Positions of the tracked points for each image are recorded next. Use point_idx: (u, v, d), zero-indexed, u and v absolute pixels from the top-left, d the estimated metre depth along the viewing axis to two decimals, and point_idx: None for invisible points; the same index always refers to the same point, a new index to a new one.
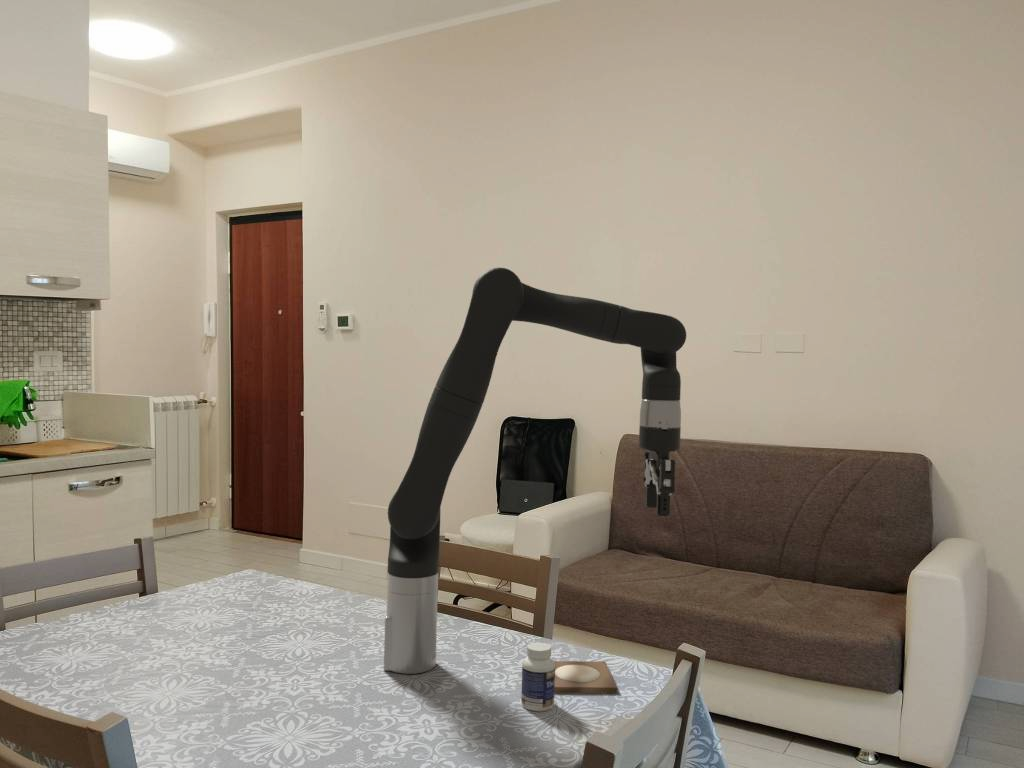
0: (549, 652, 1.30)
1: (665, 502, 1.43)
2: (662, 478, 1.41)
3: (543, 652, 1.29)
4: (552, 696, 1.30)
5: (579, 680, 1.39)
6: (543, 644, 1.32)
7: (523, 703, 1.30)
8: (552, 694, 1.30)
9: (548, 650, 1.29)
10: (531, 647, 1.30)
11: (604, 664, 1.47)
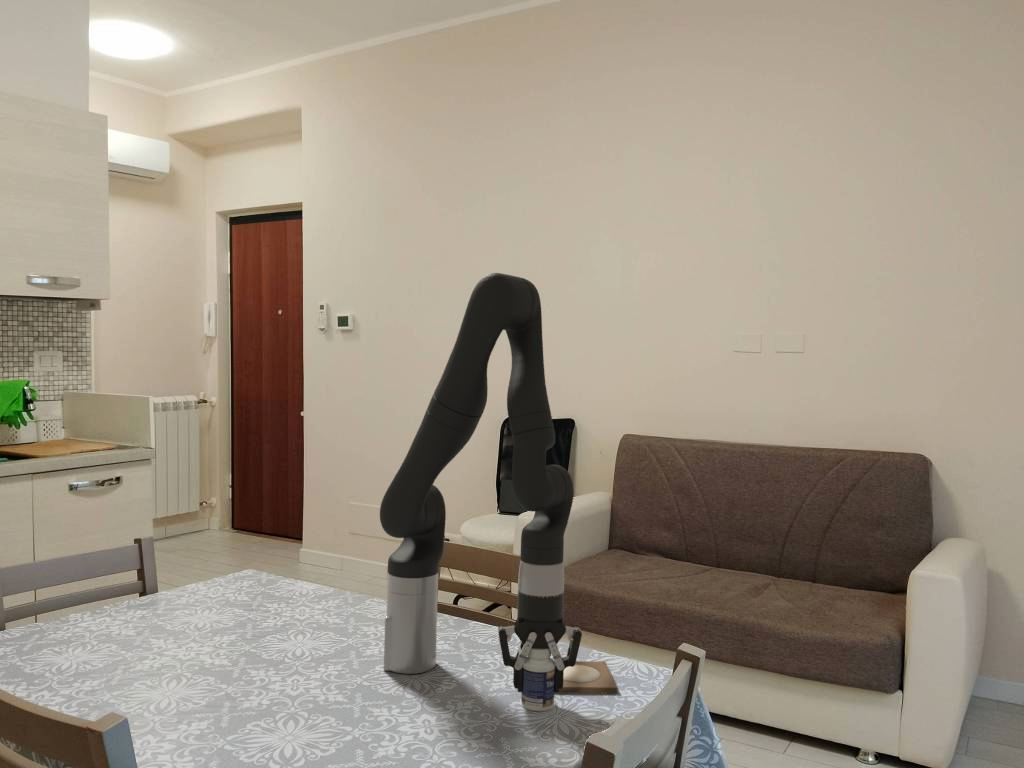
0: (549, 652, 1.30)
1: None
2: None
3: (543, 652, 1.29)
4: (552, 696, 1.30)
5: (579, 680, 1.39)
6: None
7: (523, 703, 1.30)
8: (552, 694, 1.30)
9: (548, 649, 1.29)
10: None
11: (604, 664, 1.47)
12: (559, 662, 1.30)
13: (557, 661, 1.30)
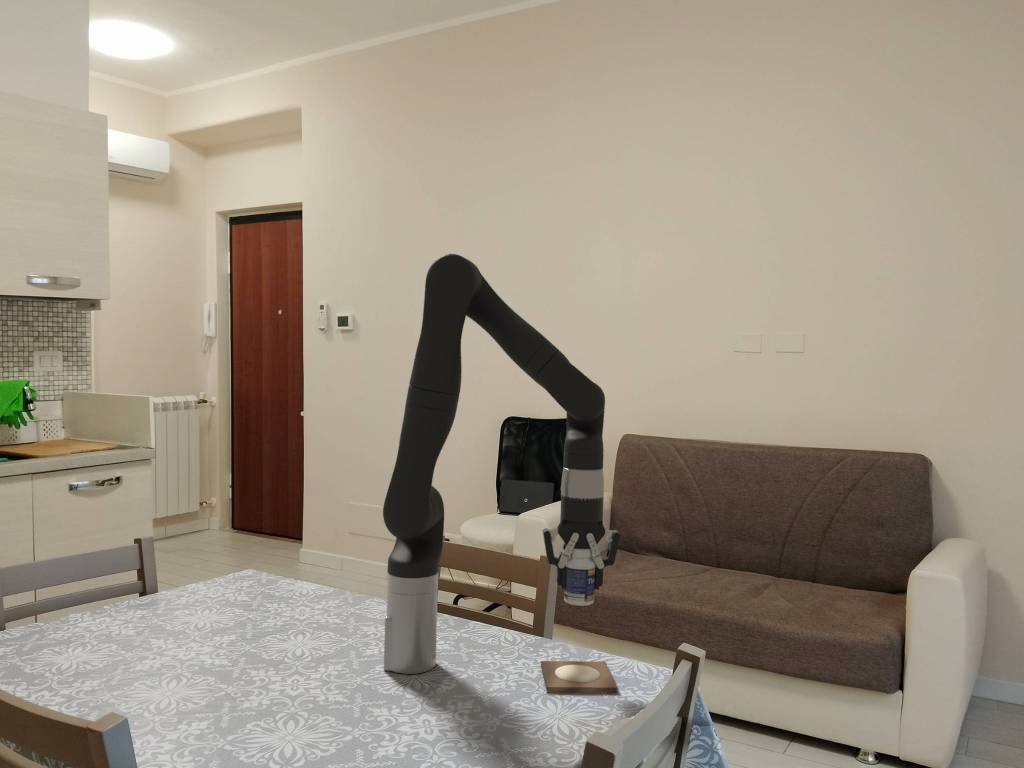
0: (590, 552, 1.41)
1: None
2: (616, 551, 1.41)
3: (584, 551, 1.40)
4: (593, 592, 1.41)
5: (579, 680, 1.39)
6: None
7: (566, 599, 1.41)
8: (593, 590, 1.41)
9: (589, 549, 1.40)
10: None
11: (604, 664, 1.47)
12: (599, 561, 1.41)
13: (597, 560, 1.41)
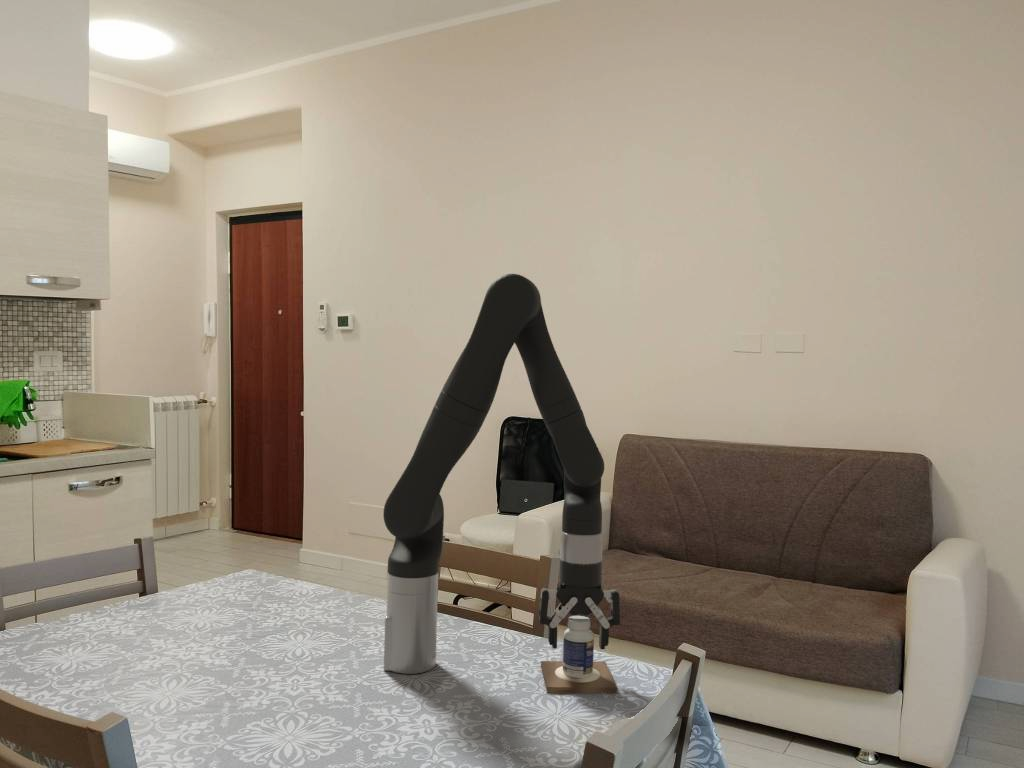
0: (589, 624, 1.41)
1: None
2: (619, 610, 1.41)
3: (583, 624, 1.40)
4: (591, 664, 1.41)
5: (579, 680, 1.39)
6: (582, 617, 1.43)
7: (565, 671, 1.41)
8: (591, 662, 1.41)
9: (587, 621, 1.41)
10: (572, 619, 1.41)
11: (604, 664, 1.47)
12: (605, 621, 1.41)
13: (603, 620, 1.41)
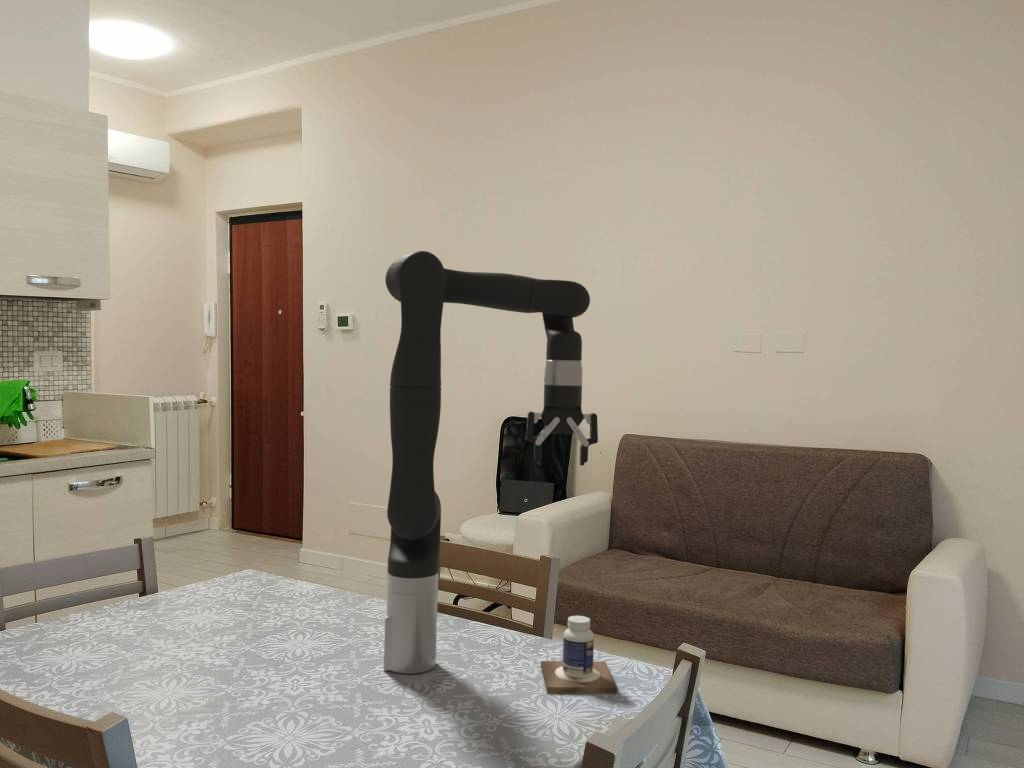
0: (588, 624, 1.41)
1: None
2: (597, 430, 1.59)
3: (583, 624, 1.40)
4: (591, 664, 1.41)
5: (579, 680, 1.39)
6: (582, 617, 1.43)
7: (565, 671, 1.41)
8: (591, 662, 1.41)
9: (587, 621, 1.41)
10: (572, 619, 1.41)
11: (604, 664, 1.47)
12: (584, 439, 1.58)
13: (583, 439, 1.58)
